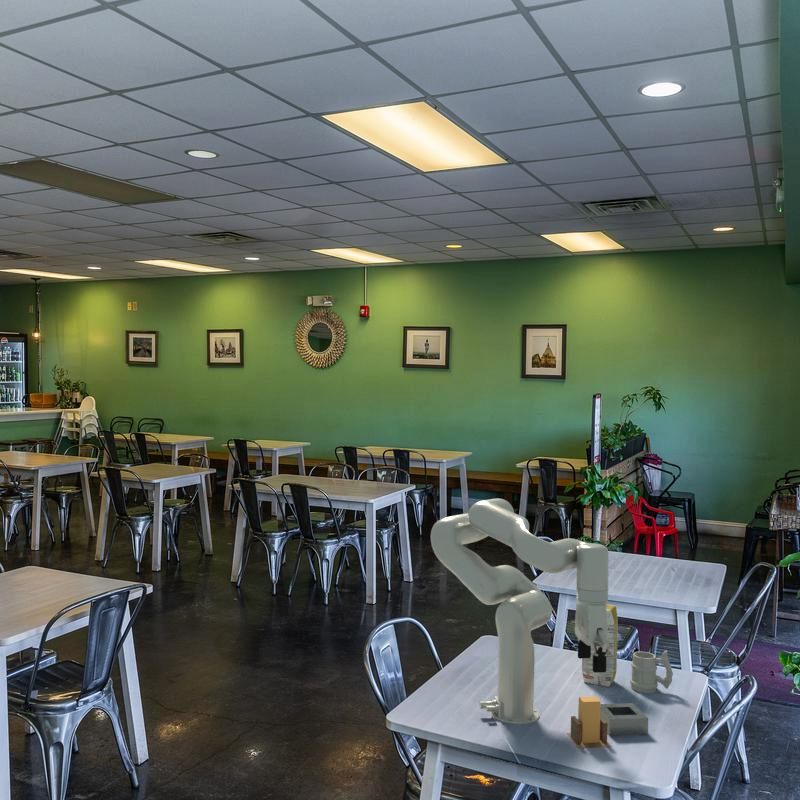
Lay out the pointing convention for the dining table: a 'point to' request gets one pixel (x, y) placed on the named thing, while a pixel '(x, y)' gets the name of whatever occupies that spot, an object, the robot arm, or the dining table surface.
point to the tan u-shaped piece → (576, 734)
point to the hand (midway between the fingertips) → (591, 664)
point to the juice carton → (611, 657)
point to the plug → (589, 719)
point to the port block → (624, 719)
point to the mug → (649, 672)
